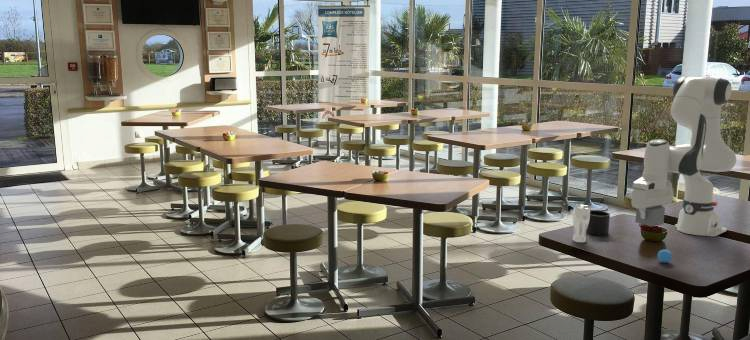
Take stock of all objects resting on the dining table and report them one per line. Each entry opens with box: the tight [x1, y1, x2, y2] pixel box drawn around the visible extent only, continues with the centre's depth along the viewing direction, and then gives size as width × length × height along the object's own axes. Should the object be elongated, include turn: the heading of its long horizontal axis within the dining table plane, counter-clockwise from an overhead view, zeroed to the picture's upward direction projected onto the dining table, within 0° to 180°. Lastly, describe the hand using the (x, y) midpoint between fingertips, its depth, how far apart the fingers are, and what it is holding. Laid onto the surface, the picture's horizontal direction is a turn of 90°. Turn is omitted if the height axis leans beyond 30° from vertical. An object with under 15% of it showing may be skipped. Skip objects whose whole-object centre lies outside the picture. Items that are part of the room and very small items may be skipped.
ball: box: [657, 249, 673, 264], centre depth 244 cm, size 5×5×5 cm
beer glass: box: [571, 204, 591, 244], centre depth 270 cm, size 7×7×15 cm
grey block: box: [634, 206, 666, 228], centre depth 248 cm, size 7×7×7 cm
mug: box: [587, 210, 611, 237], centre depth 283 cm, size 9×12×9 cm
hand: (651, 217), depth 248 cm, fingers closed on grey block, 7 cm apart
